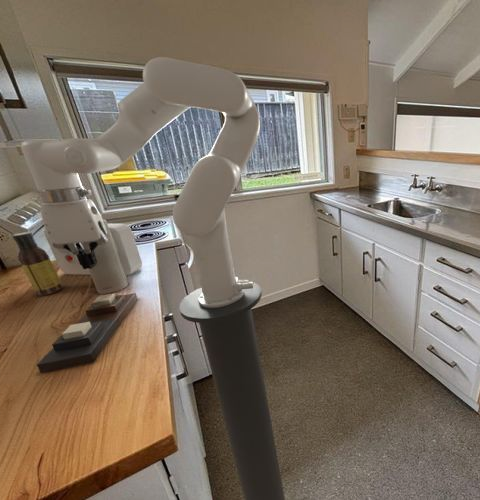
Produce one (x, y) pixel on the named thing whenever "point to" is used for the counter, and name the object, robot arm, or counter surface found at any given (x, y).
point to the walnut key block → (110, 310)
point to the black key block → (78, 347)
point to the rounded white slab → (122, 244)
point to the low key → (104, 300)
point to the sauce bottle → (37, 265)
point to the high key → (77, 330)
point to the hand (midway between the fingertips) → (90, 266)
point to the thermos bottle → (107, 267)
